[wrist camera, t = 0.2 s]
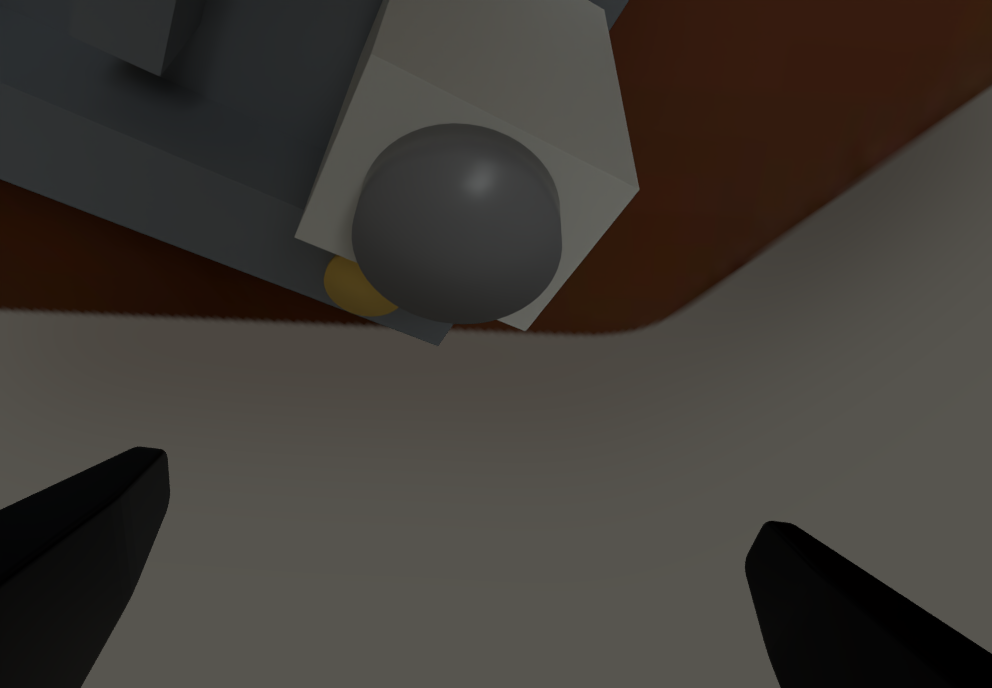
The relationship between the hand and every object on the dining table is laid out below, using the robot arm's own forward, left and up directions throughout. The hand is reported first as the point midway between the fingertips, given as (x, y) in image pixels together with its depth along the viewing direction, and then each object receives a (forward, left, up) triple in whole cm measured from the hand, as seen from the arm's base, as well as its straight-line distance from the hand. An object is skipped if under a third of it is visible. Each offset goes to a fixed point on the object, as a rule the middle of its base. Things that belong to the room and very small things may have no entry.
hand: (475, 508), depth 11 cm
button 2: (-1, -2, -13) cm, 13 cm away
